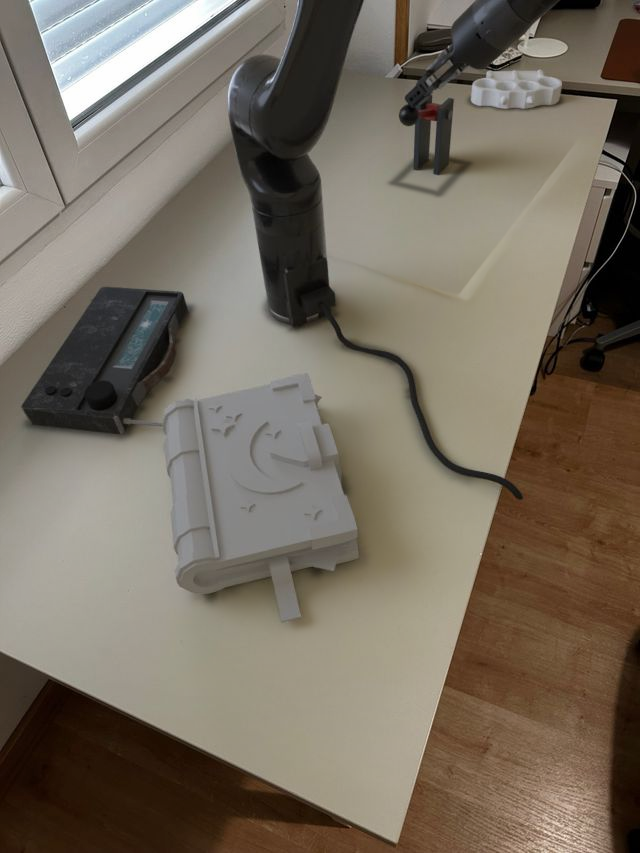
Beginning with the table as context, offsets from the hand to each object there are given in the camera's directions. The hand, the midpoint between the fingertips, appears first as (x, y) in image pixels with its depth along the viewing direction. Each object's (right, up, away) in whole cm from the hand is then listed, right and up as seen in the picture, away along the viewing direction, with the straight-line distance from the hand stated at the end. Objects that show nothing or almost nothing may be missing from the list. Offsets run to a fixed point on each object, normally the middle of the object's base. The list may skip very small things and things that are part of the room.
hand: (409, 101), depth 101 cm
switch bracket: (+6, -4, +17) cm, 19 cm away
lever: (+3, -1, +6) cm, 6 cm away
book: (-20, -60, -29) cm, 70 cm away
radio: (-39, -42, -11) cm, 59 cm away
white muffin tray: (+27, +19, +36) cm, 49 cm away
